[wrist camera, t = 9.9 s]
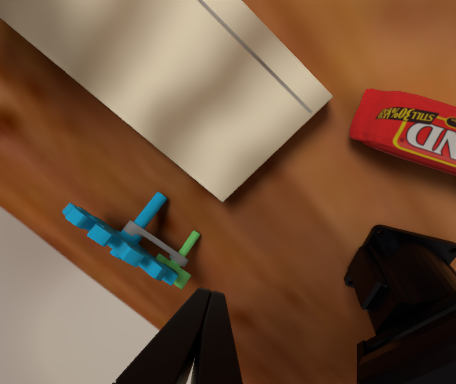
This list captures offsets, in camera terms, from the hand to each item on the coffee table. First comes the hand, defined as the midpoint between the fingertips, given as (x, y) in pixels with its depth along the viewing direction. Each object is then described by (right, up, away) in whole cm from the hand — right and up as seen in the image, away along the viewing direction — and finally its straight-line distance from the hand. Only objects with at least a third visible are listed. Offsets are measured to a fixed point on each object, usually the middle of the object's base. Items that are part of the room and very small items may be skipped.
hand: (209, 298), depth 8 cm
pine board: (-5, +14, +8) cm, 17 cm away
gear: (-7, +1, +16) cm, 17 cm away
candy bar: (+16, +7, +9) cm, 20 cm away
